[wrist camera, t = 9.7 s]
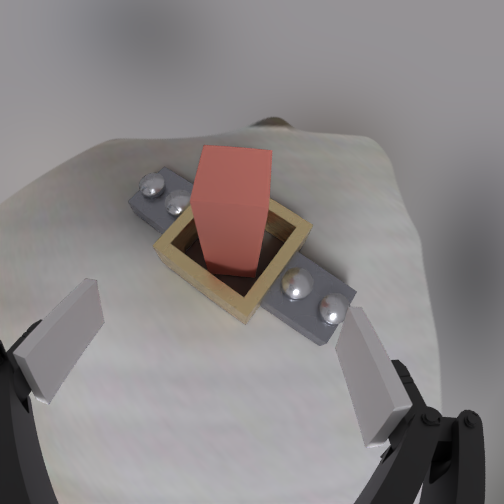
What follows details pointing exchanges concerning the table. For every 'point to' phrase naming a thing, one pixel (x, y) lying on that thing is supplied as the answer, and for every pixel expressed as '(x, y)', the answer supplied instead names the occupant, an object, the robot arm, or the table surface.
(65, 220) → the table surface
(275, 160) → the table surface
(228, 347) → the table surface
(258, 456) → the table surface
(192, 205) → the link pin
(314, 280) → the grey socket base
